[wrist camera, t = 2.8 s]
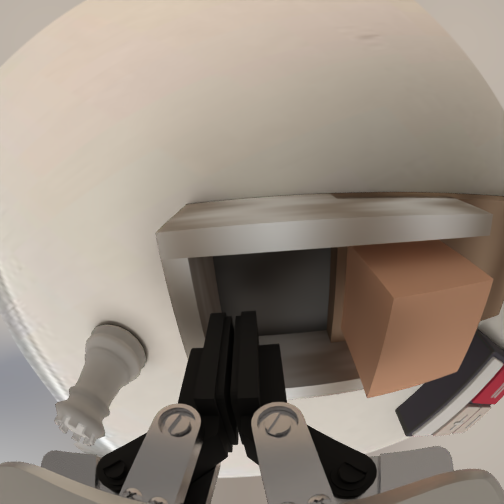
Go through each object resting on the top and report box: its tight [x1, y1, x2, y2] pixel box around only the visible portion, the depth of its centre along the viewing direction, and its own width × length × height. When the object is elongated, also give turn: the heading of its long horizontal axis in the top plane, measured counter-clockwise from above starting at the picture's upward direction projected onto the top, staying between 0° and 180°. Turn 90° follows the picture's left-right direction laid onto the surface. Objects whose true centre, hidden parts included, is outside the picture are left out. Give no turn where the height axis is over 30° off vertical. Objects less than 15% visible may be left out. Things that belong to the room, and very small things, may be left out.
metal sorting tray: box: [155, 192, 504, 400], centre depth 12 cm, size 22×9×4 cm, turn 95°
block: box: [341, 240, 493, 398], centre depth 11 cm, size 5×5×5 cm
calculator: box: [395, 329, 504, 437], centre depth 18 cm, size 11×4×15 cm
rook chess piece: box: [54, 325, 146, 446], centre depth 13 cm, size 4×4×8 cm
